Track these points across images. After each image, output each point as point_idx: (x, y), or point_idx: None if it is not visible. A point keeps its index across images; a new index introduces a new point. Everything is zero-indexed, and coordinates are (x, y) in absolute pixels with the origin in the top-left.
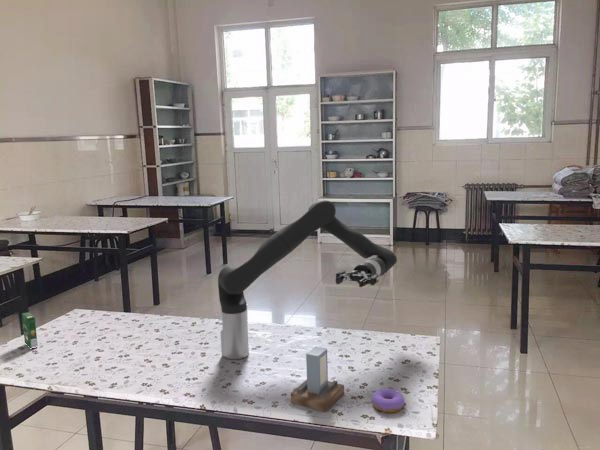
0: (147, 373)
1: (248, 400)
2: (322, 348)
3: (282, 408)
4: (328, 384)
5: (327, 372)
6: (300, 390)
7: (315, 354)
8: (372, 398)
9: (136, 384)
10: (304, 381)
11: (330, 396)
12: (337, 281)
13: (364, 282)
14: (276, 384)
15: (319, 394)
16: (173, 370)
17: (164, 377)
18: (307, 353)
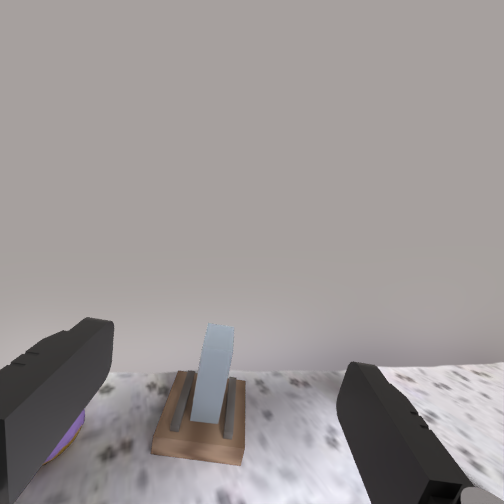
0: (489, 411)
1: (301, 384)
2: (213, 346)
3: (244, 378)
4: (190, 426)
5: (194, 394)
6: (230, 378)
7: (216, 326)
8: (83, 411)
9: (449, 383)
10: (244, 423)
11: (175, 386)
12: (347, 383)
13: (38, 350)
14: (306, 445)
15: (193, 371)
16: (486, 433)
17: (458, 408)
18: (232, 328)
